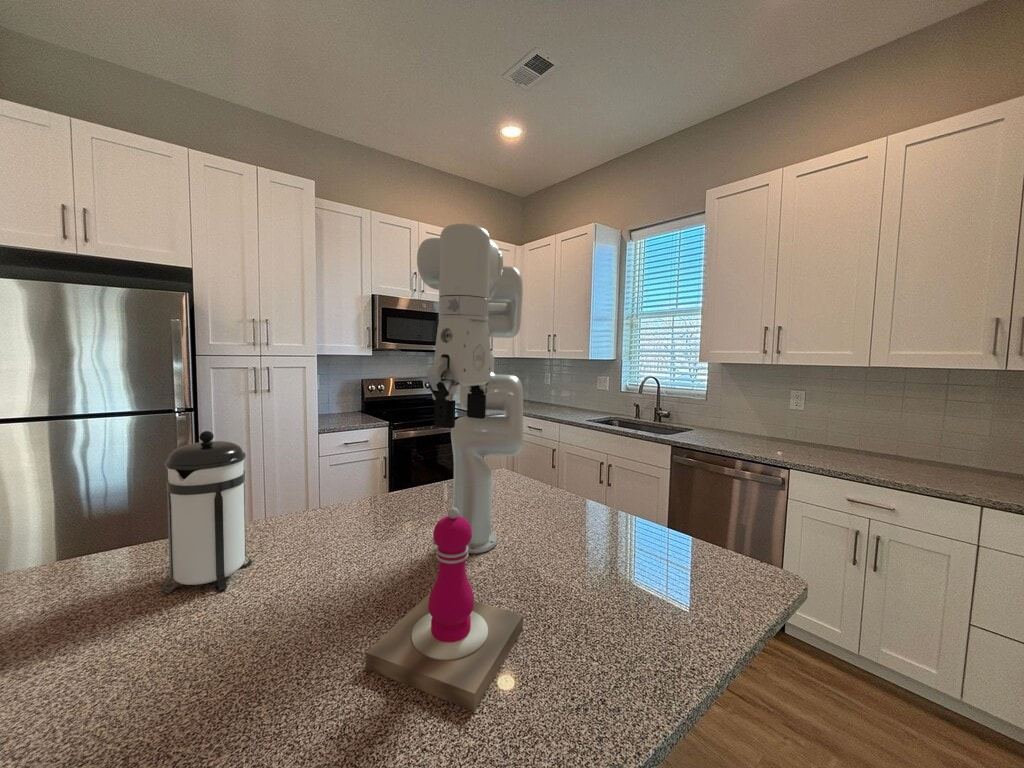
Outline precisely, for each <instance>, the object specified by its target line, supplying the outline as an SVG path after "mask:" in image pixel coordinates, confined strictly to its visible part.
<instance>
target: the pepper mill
mask: <svg viewBox="0 0 1024 768" xmlns="http://www.w3.org/2000/svg"><path fill="white" fill-rule="evenodd" d="M458 515H459V511H458V509H457V508H455V507H453V506H452V507H450V508H449V509H448V510H447V515H446V516H444V517H441V519H440V520H438V521H437V523H436V524H435V526H434V530H433V535H432V536H433V541H434V543H435V545H436V546H437V547H436V549H435V550H436V553H435V554H436V555H435V556H436V559H437V560H438V565H439V567H438V573H437V577H436V580H435V583H434V585H433V588H432V589H431V591H430V592H431V594H430V597H429V604H428V609H429V613H430V615H431V616H432V619H431V633H432V635H433V636H434V638H436V639H437V640H439V641H442V642H456V641H459V640H461V639H463V638H465V637H466V636H467V635H468V633H469V632H470V628H471V617H470V614H471V612H472V611H473V608H474V601H475V597H474V592H473V588H472V586H471V583H470V581H469V579H468V575H467V573H466V560H467V559H468V557H469V554H468V549H469V548H468V546H467V545H468V543H469V542H470V540H471V538H472V529H471V525H470V523H469V522H468V521H467V520H466V519H465V518H463V517H461V516H458Z"/></svg>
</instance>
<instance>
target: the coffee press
mask: <svg viewBox="0 0 1024 768" xmlns="http://www.w3.org/2000/svg"><path fill="white" fill-rule="evenodd" d="M214 436H215V435H214V433H213V432H212V431H209V430H204V431H203V432H201V433H200V435H199V439H200V441H201V442H193V443H190V444H185V445H181V446H180V447H177V448H176V449H174V450H172V451H171V452H170V453H169V455H168V458H167V459H166V460H164V466H165V468H166V469H167V479H166V491H167V497H166V498H167V525H168V526H167V531H168V535H167V536H168V561H169V562H168V563H169V564H168V565H169V568H168V569H169V570H168V571H169V575H168V577H167V579H166V581H165V582H164V584H163V585H162V587H161V590H162V592H163V593H164V594H166V595H167V594H171V593H172V592H173V591H174V590H175V589H176V588H177V587H178V586H179V585H188V586H196V585H204V584H208V583H212V582H213V584H214V586H215V589H216V590H215V591H216V592H217V593H219V592H222V591H225V590H226V589H227V588H228V587H227V586H228V585H227V580H226V578H227V577H229V576H231V575H233V574H234V573H235V572H237V571H238V570H239V569H240V568H241V567H242V566H244V567H246V568H247V567H249V566H250V567H251V565H252V563H253V560H252V559H251V558H250V557H249V556H248V555H247V549H246V513H245V512H246V511H245V510H246V508H245V507H246V504H245V503H246V502H245V499H246V495H245V481H246V473H245V472H246V471H245V469H244V462H245V459H246V456H247V455H246V452H244V451H243V449H242V447H241V446H240V445H238V444H236V443H234V442H231V441H224V440H223V441H220V440H215V441H214V440H213V439H214ZM245 557H246V558H248V561H247V563H244V562H245ZM172 580H173V581H175V582H174V583H173V584H172V586H171V587H169V589H167V590H166V588H168V585H169V584H170V583H171V581H172Z"/></svg>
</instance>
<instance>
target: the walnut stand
mask: <svg viewBox="0 0 1024 768" xmlns="http://www.w3.org/2000/svg"><path fill="white" fill-rule="evenodd" d="M430 594H431V591H430V592H429V593H427V594H426V596H425V597H423V599H421V601H419V602H418V603H417V604H416V605H415V606H414V607H413V608H412V609H411V610H410V611H408V613H406V614H405V615H404V617H402V618H401V619H400V620H399V621H398V622H397V623H396V624H395V625H394V626H393V627H391V628H390V630H388V631H387V632H386V633H385V634H384V635H382V637H380V639H379V640H377V641H376V643H374V644H373V645H372V646H371V647H370V648H369V649H368V650H367V651H366V652H365V670H368V671H371V672H374V673H376V674H378V675H381V676H383V677H386V678H389V679H391V680H394V681H395V682H399V683H401V684H403V685H407V686H409V687H411V688H414V689H416V690H418V691H421V692H423V693H426V694H429V695H431V696H433V697H436V698H439V699H441V700H444V701H447V702H450V703H451V704H454V705H457V706H459V707H461V708H464V709H467V710H469V711H471V712H475V711H476V710H477V707H478V706H479V705H480V702H481V701H482V699H483V697H484V696H485V694H486V693H487V690H488V689H489V688H490V685H491V684H492V682H493V680H494V678H495V677H496V675H497V674H498V672H499V671H500V668H501V666H502V665H503V663H504V661H505V660H506V657H508V654H509V653H510V651H511V649H512V648H513V646H514V644H515V643H516V642H517V640H518V638H519V636H520V634H521V633H522V630H523V626H524V614H521V613H518V612H513V611H510V610H506V609H503V608H499V607H496V606H492V605H489V604H485V603H482V602H479V601H476V600H474V608H473V611H472V612H471V614H470V617H471V628H470V632H469V633H468V635H467V636H466V637H465V638H463V639H461V640H459V641H456V642H442V641H439V640H437V639H436V638H434V636H433V635H432V633H431V619H432V616H431V615H430V613H429V609H428V604H429V597H430Z"/></svg>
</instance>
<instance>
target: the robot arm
mask: <svg viewBox="0 0 1024 768" xmlns="http://www.w3.org/2000/svg"><path fill="white" fill-rule="evenodd" d="M416 254H417V255H416V266H417V270H418V273H419V276H420V278H421V280H422V281H423V283H424V284H425V285H426V286H428V287H429V288H431V289H433V290H436V291H437V290H438V324H437V331H436V337H435V339H436V340H435V350H434V363H433V364H432V365H431V366H430V367H429V368H428V369H427V370H426V376H427V379H428V382H429V390H430V391H431V393H432V395H431V396H432V400H434V406H433V407H434V410H433V412H434V413H433V416H434V417H433V425H434V426H435V427H436V428H445V429H450V439H451V448H452V455H453V456H452V457H453V458H452V459H453V487H452V488H453V492H452V493H453V494H452V495H453V497H452V504H453V505H452V507H455V508H457V509H458V511H459V515H458V516H461V517H463V518H465V519H466V520H467V521H468V522H469V523H470V525H471V529H472V538H471V540H470V542H469V543H468V545H467V546H468V548H469V549H468V555H469V554H472V555H473V554H481V553H486V552H488V551H491V550H492V549H494V548H495V546H496V545H497V543H498V537H497V535H496V533H495V532H493V531H492V515H493V514H492V510H493V509H492V508H493V479H494V477H493V471H492V467H491V466H490V465H489V463H488V462H487V461H486V459H485V458H484V457H485V456H486V457H489V456H491V457H492V456H493V457H497V456H499V457H513V456H517V455H519V453H520V452H521V451H522V448H523V444H524V443H523V442H524V391H523V384H522V382H521V379H520V378H519V377H518V376H516V375H512V374H496V373H495V357H494V354H493V352H492V351H491V338H501V339H502V338H503V339H505V338H506V339H509V338H510V339H511V338H514V337H516V336H517V335H518V334H519V332H520V329H521V321H522V307H523V306H522V305H523V293H524V292H523V279H522V275H521V272H520V271H519V270H518V269H517V268H516V267H514V266H506V265H505V266H504V258H503V254H502V251H501V250H500V248H499V247H498V245H497V244H496V243H495V242H494V241H493V240H491V236H490V233H488V230H486V229H485V228H483V227H482V226H479V225H476V224H473V223H472V224H471V223H452V224H449V225H447V226H445V227H444V228H443V229H442V231H441V232H440V236H439V237H429V238H425V239H424V240H422V242H421V243H420V245H419V247H418V250H417V253H416ZM458 387H459V404H460V406H461V407H462V408H463V409H464V410H465V411H466V415H465V416H461V417H458V418H457V419H456V400H455V399H454V396H455V394H456V391H457V390H458ZM486 413H501V414H504V415H503V416H497V415H496V416H494V415H493V416H492V415H490V416H489V415H486Z"/></svg>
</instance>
